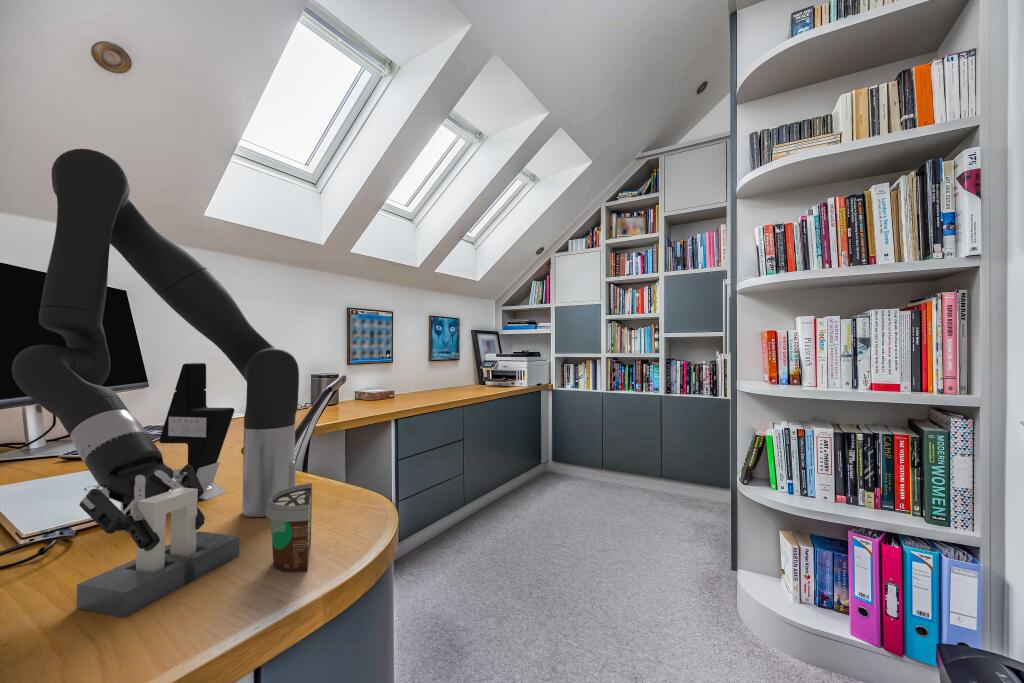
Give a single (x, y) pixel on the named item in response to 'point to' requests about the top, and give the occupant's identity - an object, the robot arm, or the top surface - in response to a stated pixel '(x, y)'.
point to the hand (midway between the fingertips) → (177, 536)
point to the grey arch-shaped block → (182, 526)
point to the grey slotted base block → (153, 577)
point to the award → (197, 426)
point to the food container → (291, 527)
